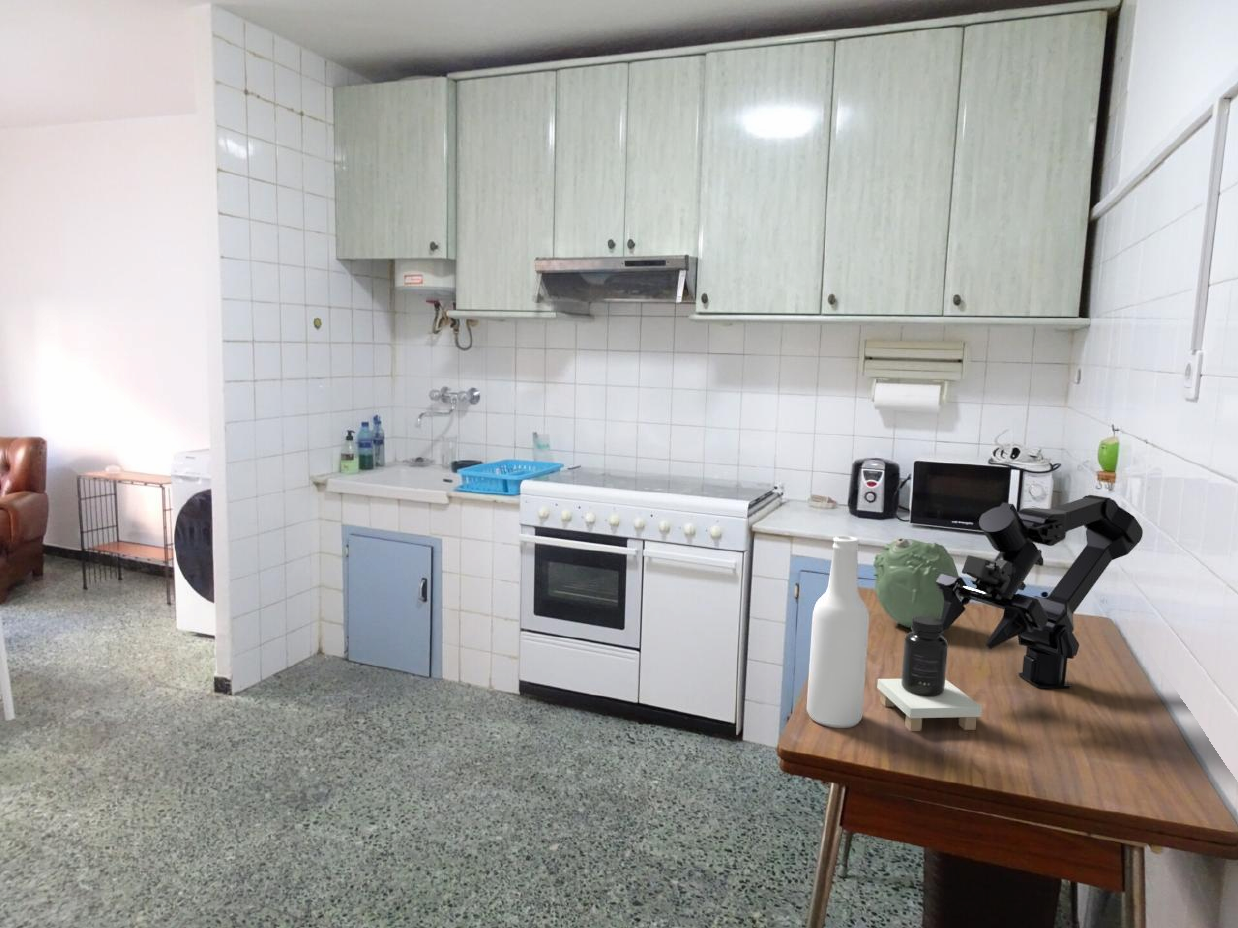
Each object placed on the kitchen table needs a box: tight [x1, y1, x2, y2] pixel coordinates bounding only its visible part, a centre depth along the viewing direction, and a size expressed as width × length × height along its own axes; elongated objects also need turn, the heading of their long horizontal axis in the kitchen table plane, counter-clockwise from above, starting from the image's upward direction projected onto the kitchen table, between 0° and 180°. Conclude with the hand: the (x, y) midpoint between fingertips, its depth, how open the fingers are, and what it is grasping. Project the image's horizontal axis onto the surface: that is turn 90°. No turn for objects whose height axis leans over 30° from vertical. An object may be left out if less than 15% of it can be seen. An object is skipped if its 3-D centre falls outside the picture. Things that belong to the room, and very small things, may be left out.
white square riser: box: [876, 678, 983, 732], centre depth 136 cm, size 12×12×4 cm
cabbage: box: [872, 538, 960, 629], centre depth 181 cm, size 16×19×20 cm
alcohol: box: [806, 535, 870, 729], centre depth 132 cm, size 9×9×30 cm
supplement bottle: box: [901, 616, 949, 697], centre depth 136 cm, size 7×7×12 cm
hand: (963, 638), depth 139 cm, fingers open, 9 cm apart
